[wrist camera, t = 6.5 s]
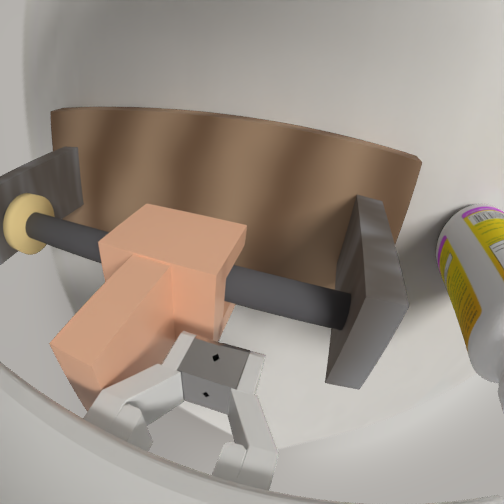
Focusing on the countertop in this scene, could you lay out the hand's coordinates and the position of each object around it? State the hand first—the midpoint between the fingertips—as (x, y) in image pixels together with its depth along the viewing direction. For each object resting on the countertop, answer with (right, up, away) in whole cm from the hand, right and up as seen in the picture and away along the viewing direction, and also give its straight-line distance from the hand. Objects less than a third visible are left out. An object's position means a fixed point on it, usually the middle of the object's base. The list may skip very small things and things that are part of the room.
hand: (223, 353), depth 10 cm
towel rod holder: (-3, +8, +11) cm, 14 cm away
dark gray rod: (-6, +4, +6) cm, 9 cm away
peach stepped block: (-2, +3, +5) cm, 6 cm away
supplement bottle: (+17, +4, +8) cm, 19 cm away
